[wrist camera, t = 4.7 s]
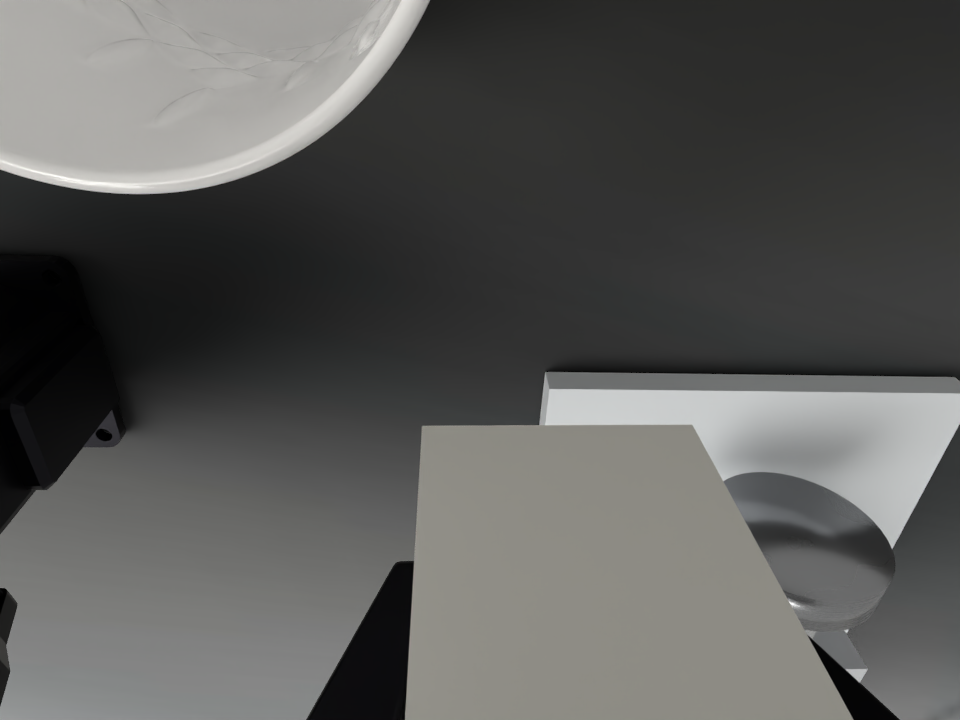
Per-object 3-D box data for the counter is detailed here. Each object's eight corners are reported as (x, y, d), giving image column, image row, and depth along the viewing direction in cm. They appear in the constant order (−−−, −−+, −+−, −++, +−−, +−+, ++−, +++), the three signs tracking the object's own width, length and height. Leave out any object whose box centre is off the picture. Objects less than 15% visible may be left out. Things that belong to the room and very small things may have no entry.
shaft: (608, 755, 29) (635, 889, 25) (685, 471, 20) (748, 603, 16) (713, 753, 29) (759, 885, 25) (835, 472, 21) (936, 601, 16)
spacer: (426, 606, 11) (413, 991, 7) (422, 426, 9) (398, 815, 5) (648, 601, 11) (766, 973, 7) (691, 424, 9) (896, 799, 5)
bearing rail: (495, 812, 36) (503, 951, 31) (545, 371, 21) (577, 502, 15) (736, 805, 37) (783, 940, 31) (954, 377, 21) (1114, 502, 16)
